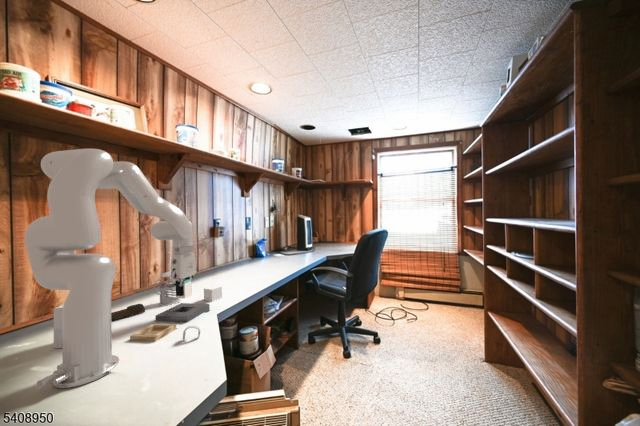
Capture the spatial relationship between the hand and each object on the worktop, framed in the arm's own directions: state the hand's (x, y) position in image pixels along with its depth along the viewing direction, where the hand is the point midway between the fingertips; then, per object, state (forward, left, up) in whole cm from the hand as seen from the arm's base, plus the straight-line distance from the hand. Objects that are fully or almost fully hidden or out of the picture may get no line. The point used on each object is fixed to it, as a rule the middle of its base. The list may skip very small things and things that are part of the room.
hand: (183, 293), depth 102 cm
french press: (+15, +21, -10) cm, 28 cm away
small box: (-23, +23, -10) cm, 34 cm away
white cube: (+22, +1, -10) cm, 24 cm away
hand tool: (-5, +27, -10) cm, 30 cm away
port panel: (0, 0, -10) cm, 10 cm away
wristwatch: (-19, -18, -10) cm, 28 cm away
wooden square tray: (-17, -2, -10) cm, 20 cm away
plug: (0, 0, -1) cm, 1 cm away
